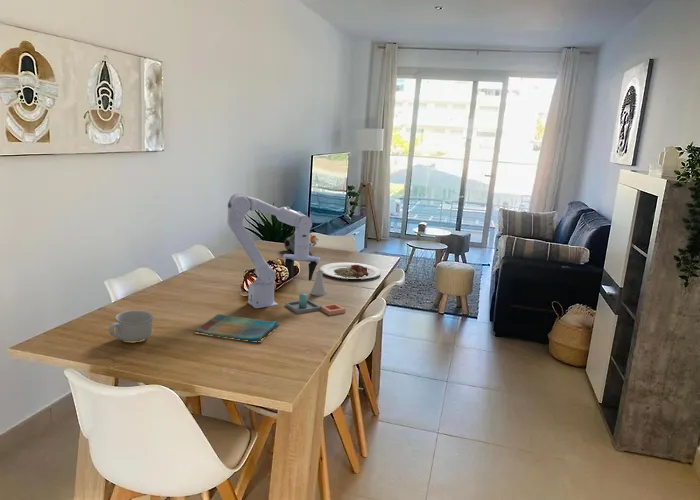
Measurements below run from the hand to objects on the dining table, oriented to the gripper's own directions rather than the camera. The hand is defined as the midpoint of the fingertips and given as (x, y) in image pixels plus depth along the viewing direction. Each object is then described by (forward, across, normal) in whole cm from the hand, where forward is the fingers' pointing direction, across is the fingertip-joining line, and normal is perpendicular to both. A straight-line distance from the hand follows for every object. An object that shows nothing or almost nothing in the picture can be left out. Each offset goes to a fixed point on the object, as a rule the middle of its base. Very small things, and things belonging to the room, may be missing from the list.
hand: (300, 278), depth 204 cm
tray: (+9, -4, +8) cm, 13 cm away
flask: (+10, -4, -13) cm, 17 cm away
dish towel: (+10, +11, +36) cm, 39 cm away
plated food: (+10, -10, -51) cm, 53 cm away
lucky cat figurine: (+10, +26, -84) cm, 89 cm away
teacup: (+10, +38, +56) cm, 68 cm away
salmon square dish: (+9, -15, +7) cm, 19 cm away
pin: (+9, -4, +8) cm, 12 cm away
